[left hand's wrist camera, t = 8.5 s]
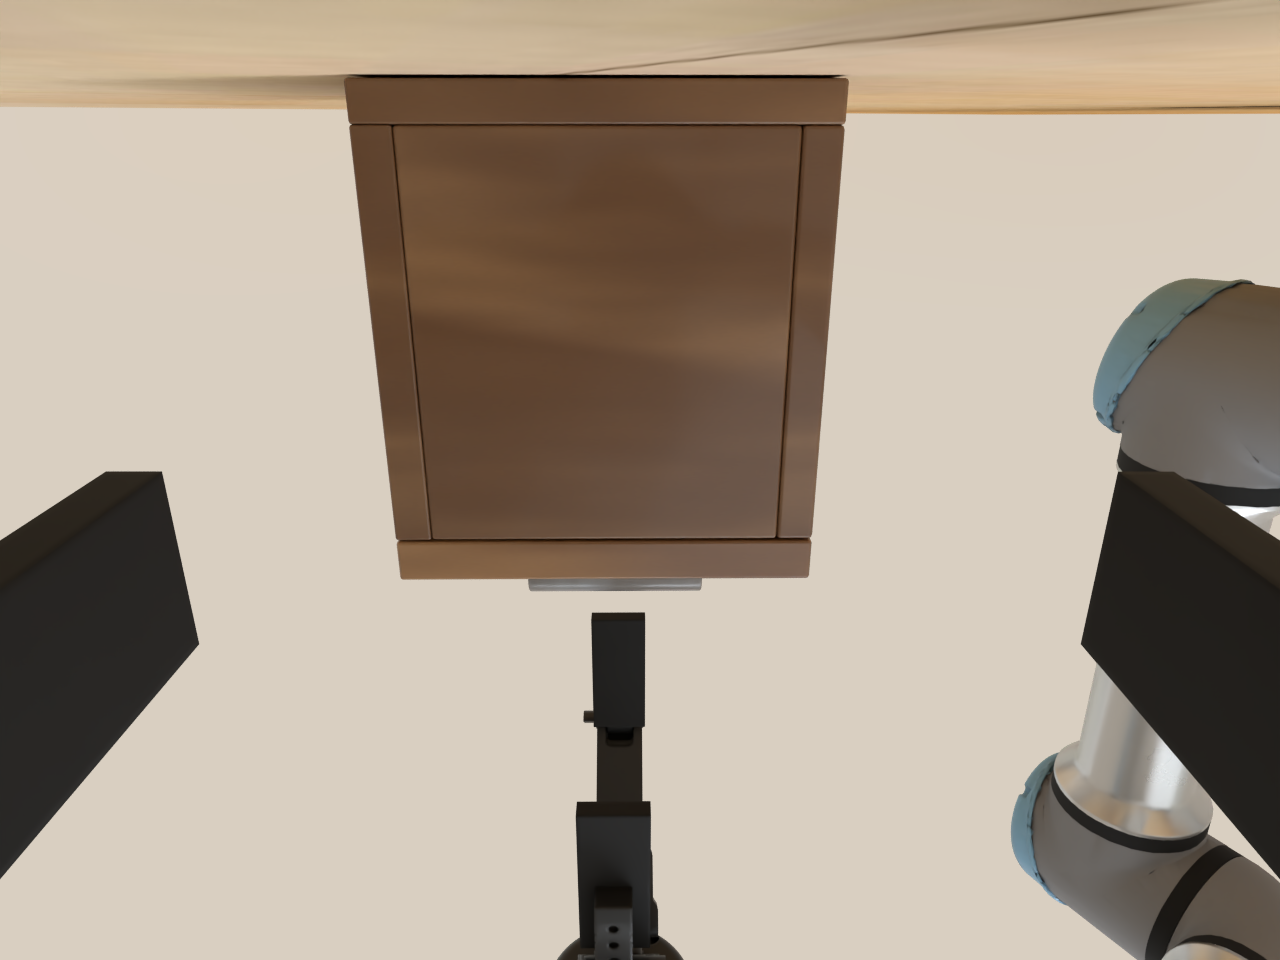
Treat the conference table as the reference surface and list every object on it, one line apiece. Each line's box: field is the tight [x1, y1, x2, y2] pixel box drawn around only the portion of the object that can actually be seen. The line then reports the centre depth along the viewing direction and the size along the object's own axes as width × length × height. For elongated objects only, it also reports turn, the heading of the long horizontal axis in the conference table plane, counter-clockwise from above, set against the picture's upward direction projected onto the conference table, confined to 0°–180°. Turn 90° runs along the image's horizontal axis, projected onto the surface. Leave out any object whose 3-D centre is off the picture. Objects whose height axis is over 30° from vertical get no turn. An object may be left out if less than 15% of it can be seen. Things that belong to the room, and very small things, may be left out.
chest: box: [344, 78, 849, 540], centre depth 27 cm, size 14×10×10 cm
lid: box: [397, 534, 811, 591], centre depth 31 cm, size 15×10×8 cm
